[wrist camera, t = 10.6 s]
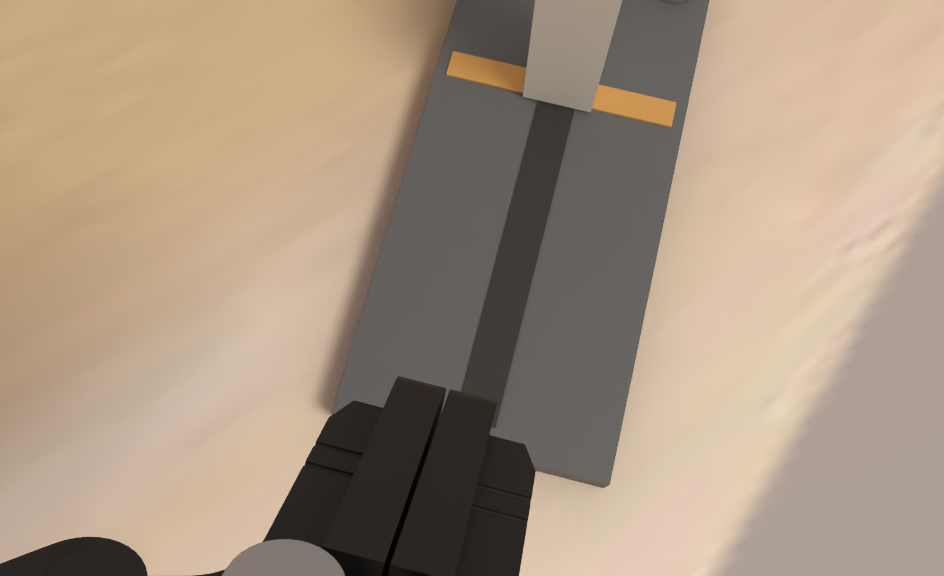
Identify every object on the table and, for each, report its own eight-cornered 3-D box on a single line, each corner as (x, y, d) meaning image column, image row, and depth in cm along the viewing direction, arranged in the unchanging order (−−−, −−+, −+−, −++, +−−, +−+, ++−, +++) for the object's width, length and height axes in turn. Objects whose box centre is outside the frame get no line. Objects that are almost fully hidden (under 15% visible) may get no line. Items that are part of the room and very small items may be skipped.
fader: (517, 99, 39) (534, -51, 29) (535, 33, 40) (557, -133, 30) (594, 117, 38) (636, -29, 29) (610, 50, 39) (656, -111, 30)
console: (336, 418, 36) (323, 403, 33) (482, -63, 43) (484, -116, 40) (603, 488, 35) (618, 479, 32) (707, -14, 42) (728, -63, 39)
